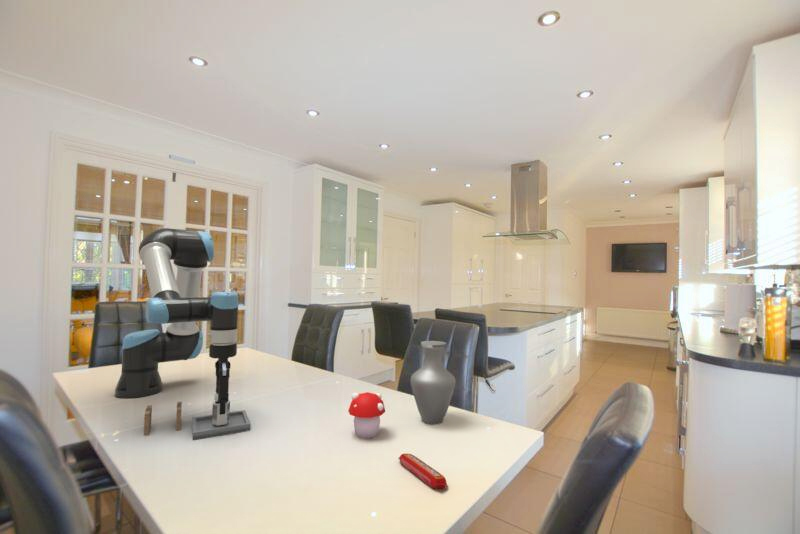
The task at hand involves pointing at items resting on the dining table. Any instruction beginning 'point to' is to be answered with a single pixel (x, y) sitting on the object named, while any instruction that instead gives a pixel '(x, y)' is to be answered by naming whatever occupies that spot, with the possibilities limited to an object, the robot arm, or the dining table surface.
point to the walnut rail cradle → (149, 415)
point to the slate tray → (206, 429)
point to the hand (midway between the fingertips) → (220, 421)
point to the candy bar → (423, 471)
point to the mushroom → (366, 413)
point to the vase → (433, 384)
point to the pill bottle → (214, 410)
